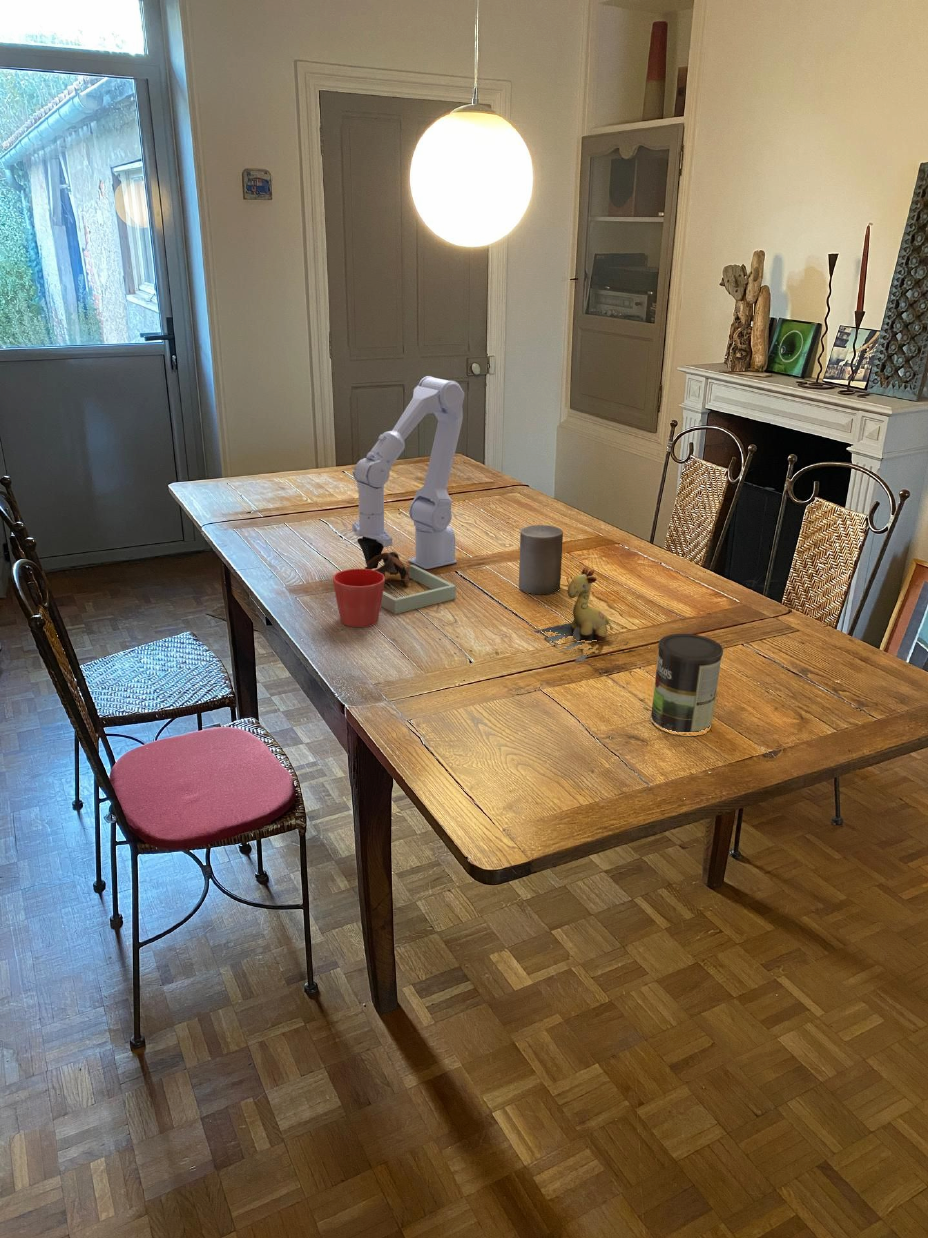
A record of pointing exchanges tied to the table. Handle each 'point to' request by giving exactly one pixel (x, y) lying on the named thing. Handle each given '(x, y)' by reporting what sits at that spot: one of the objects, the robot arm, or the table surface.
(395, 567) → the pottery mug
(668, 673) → the coffee can
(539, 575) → the pillar candle
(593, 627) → the stuffed giraffe
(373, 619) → the flower pot
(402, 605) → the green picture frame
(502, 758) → the table surface
